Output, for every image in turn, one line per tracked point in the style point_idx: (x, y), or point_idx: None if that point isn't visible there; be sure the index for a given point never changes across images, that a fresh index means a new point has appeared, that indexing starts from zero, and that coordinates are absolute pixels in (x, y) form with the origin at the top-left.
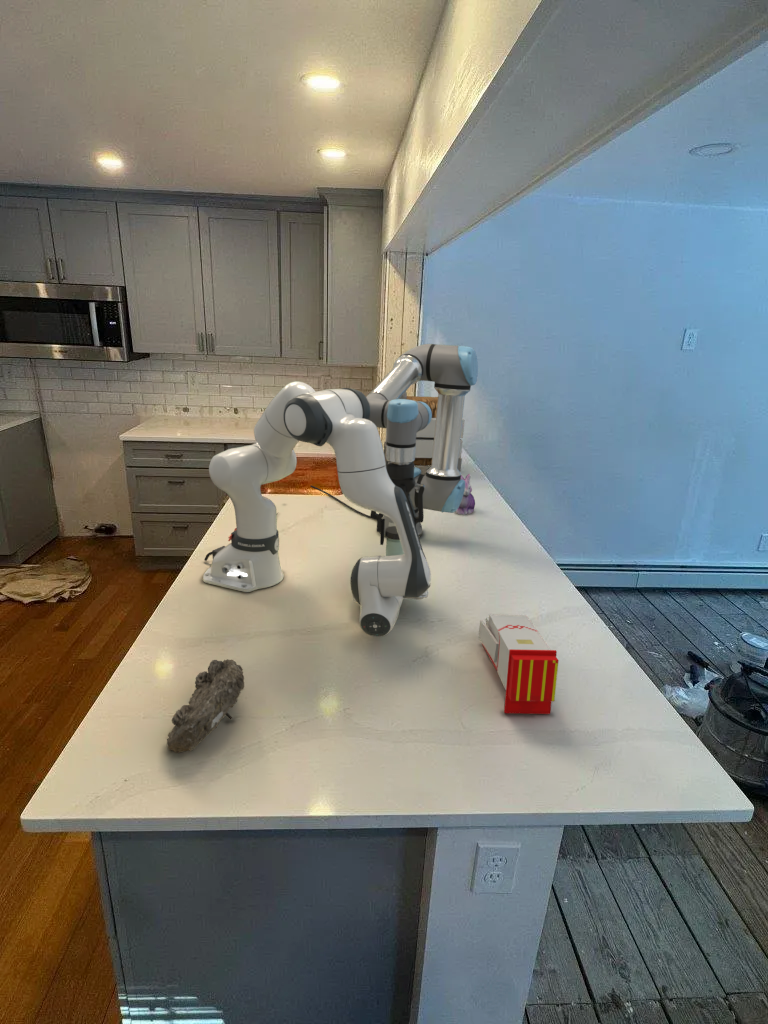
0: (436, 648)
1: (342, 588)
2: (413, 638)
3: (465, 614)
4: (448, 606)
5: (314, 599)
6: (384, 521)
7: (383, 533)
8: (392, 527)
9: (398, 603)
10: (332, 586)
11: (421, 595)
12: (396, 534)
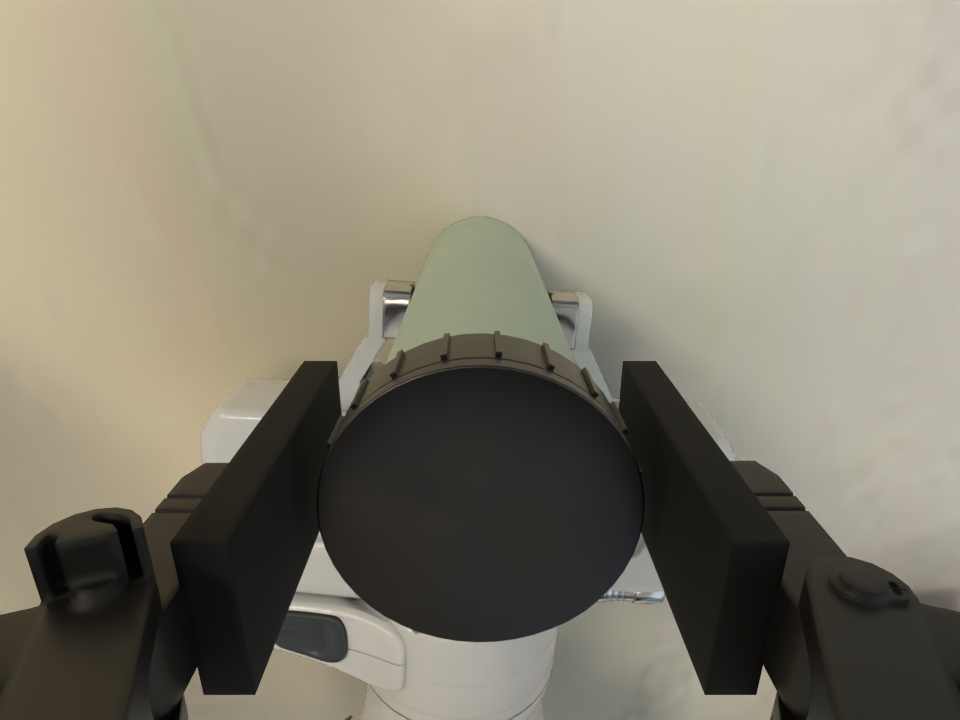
0: (683, 671)
1: (172, 260)
2: (596, 629)
3: (865, 421)
4: (791, 358)
5: (76, 408)
6: (248, 595)
7: (311, 543)
8: (409, 440)
9: (538, 711)
10: (105, 245)
11: (664, 593)
12: (495, 636)
